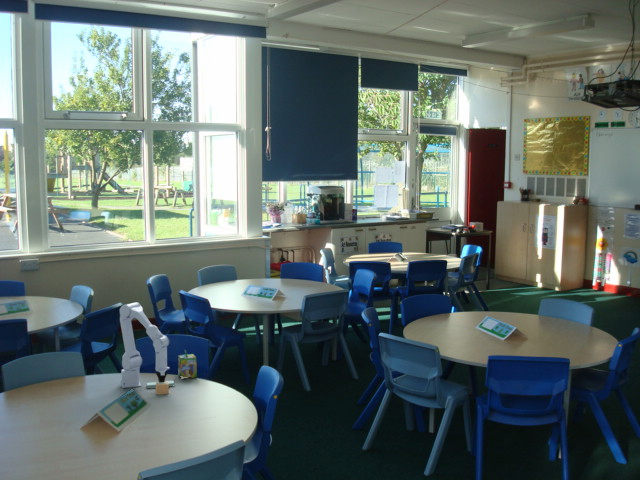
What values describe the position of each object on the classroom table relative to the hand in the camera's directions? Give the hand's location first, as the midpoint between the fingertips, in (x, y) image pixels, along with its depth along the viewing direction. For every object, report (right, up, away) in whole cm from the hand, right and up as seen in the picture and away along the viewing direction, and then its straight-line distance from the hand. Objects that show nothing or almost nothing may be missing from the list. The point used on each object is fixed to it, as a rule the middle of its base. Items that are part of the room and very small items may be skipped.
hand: (161, 385), depth 331 cm
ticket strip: (-2, -2, +7) cm, 8 cm away
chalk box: (+8, -1, +25) cm, 27 cm away
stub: (+1, -3, -3) cm, 5 cm away
